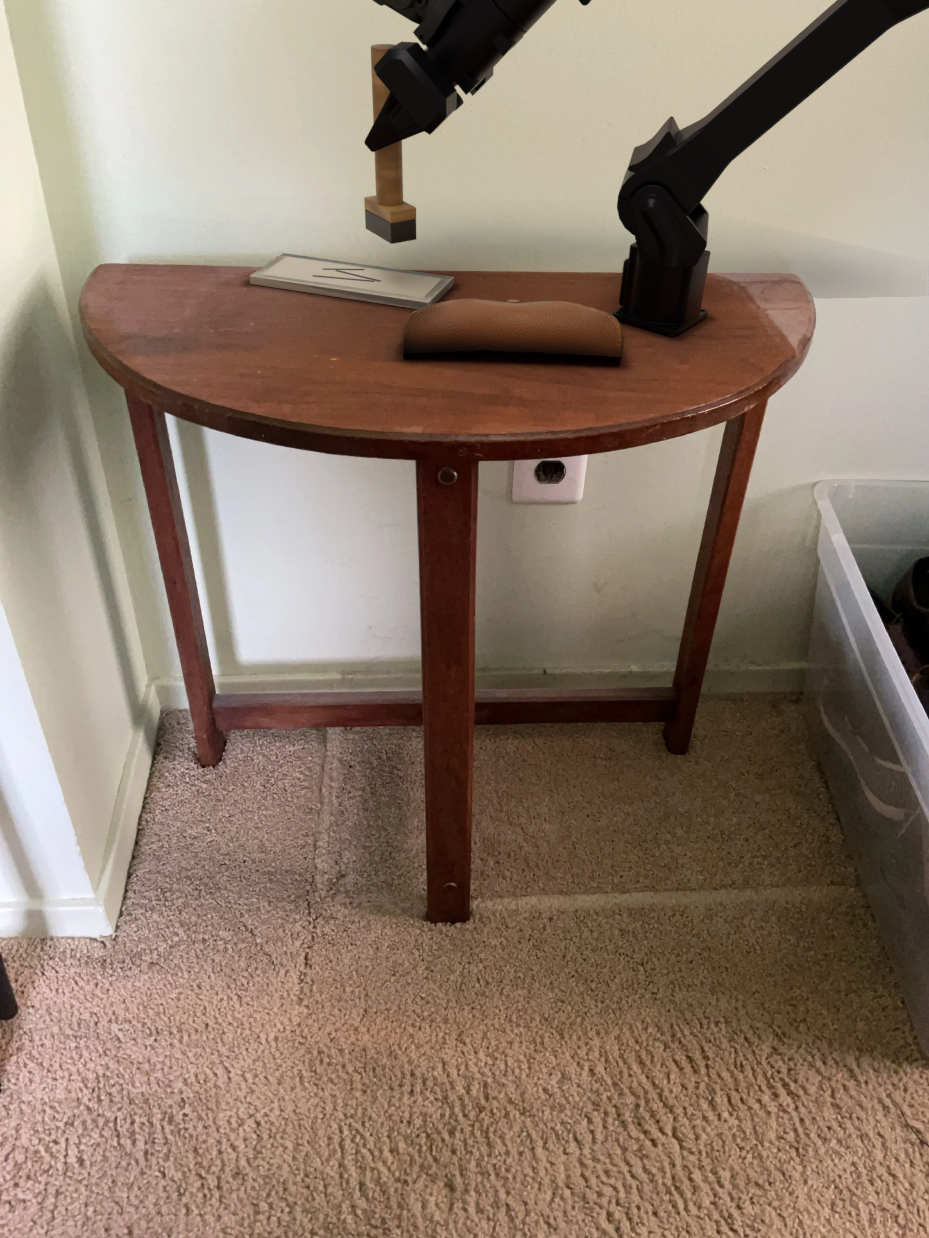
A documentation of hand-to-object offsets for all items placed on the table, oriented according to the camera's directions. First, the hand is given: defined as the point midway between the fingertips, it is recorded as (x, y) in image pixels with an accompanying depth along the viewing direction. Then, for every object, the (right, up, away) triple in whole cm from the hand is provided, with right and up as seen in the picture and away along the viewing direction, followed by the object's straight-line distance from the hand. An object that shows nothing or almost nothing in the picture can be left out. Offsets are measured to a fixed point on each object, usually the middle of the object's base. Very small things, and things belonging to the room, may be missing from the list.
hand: (373, 143), depth 86 cm
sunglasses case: (+12, -18, -2) cm, 22 cm away
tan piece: (+1, -6, +4) cm, 8 cm away
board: (-3, -9, +9) cm, 13 cm away
